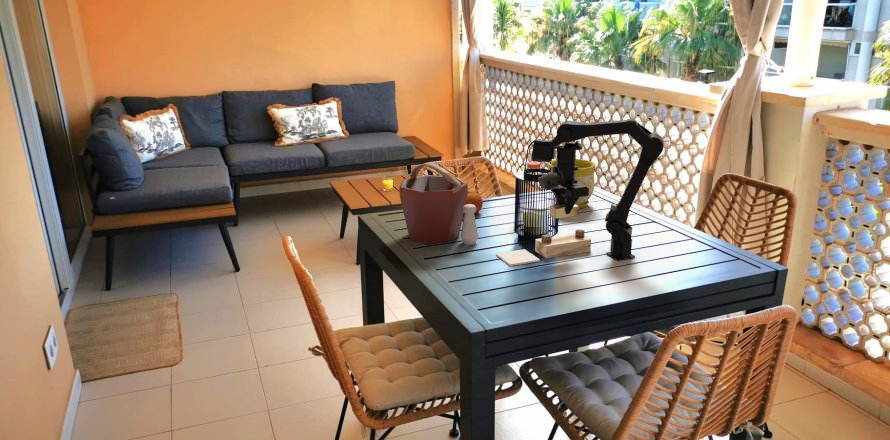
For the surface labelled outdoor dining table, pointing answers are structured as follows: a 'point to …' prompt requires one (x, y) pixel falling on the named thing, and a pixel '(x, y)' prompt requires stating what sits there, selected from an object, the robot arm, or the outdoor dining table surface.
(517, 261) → the mat
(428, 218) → the bucket
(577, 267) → the outdoor dining table surface
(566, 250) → the plane body
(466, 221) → the salt shaker
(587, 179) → the flowerpot
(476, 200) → the fruit
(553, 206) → the tan slotted block
